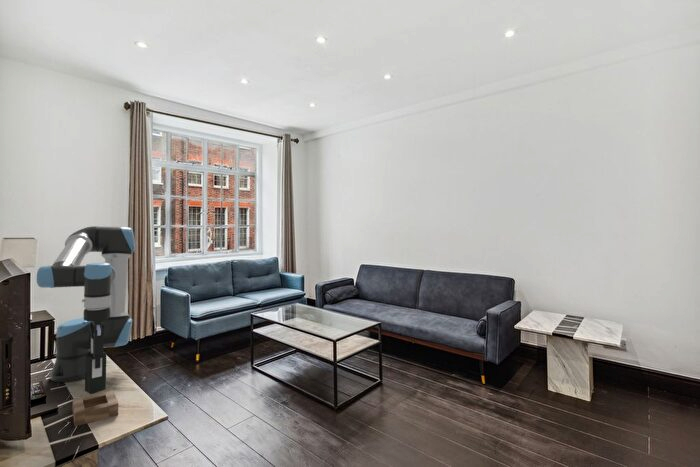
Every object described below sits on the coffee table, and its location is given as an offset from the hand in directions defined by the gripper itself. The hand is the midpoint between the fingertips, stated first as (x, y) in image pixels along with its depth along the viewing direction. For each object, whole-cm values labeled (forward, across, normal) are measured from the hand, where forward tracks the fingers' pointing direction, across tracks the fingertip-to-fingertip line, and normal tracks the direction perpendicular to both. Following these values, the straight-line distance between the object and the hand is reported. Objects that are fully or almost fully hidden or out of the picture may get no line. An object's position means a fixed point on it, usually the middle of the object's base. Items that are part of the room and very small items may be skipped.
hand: (95, 373), depth 122 cm
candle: (+6, 0, 0) cm, 6 cm away
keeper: (+14, 0, 0) cm, 14 cm away
